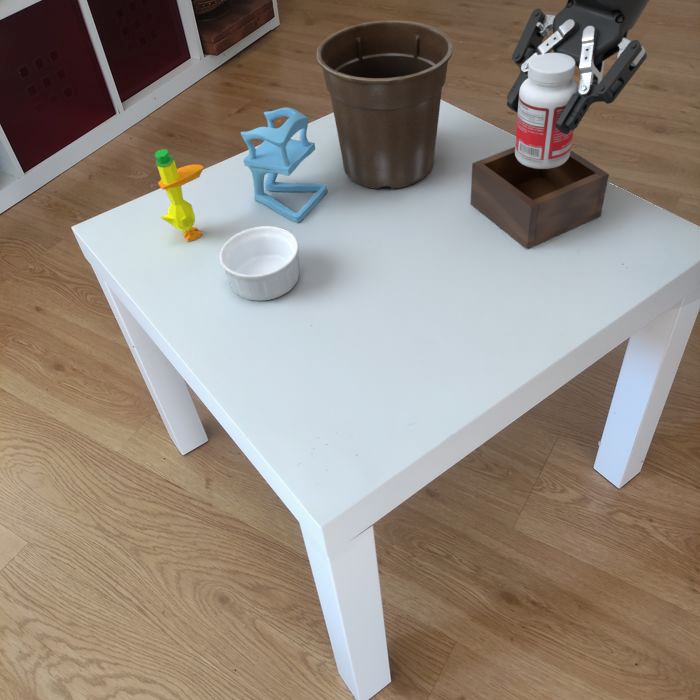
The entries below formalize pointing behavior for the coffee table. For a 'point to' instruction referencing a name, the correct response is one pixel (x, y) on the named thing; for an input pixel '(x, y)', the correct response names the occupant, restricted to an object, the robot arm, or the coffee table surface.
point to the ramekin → (261, 262)
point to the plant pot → (386, 98)
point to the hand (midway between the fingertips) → (536, 119)
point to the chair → (281, 161)
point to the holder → (537, 195)
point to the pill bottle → (544, 111)
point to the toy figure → (178, 193)
